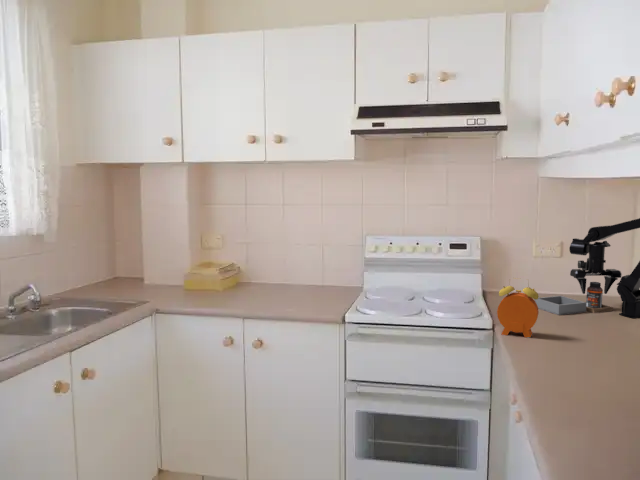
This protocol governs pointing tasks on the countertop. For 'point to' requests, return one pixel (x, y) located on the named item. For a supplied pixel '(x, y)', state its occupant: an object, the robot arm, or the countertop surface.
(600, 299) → the supplement bottle
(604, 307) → the tan wooden square frame
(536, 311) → the alarm clock
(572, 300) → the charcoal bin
